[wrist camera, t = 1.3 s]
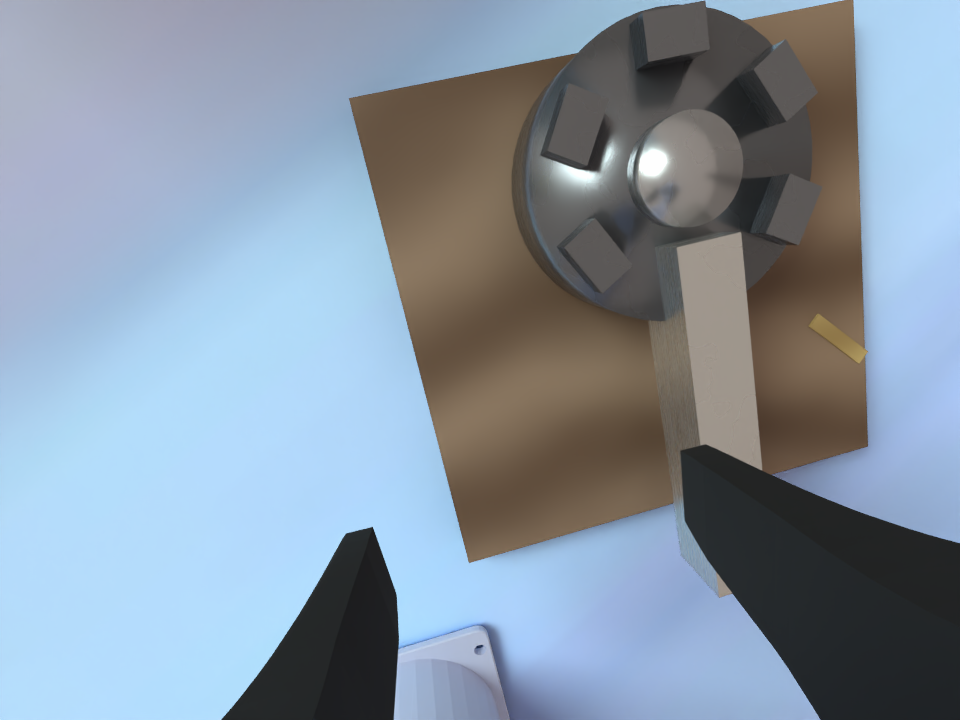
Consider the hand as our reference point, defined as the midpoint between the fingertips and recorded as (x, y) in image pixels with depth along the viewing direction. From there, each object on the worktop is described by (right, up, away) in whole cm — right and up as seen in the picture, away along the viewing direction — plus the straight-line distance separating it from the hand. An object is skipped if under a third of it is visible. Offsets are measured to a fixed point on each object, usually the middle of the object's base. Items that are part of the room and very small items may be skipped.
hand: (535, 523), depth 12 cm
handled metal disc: (+5, +5, +8) cm, 11 cm away
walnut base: (+5, +6, +9) cm, 12 cm away
